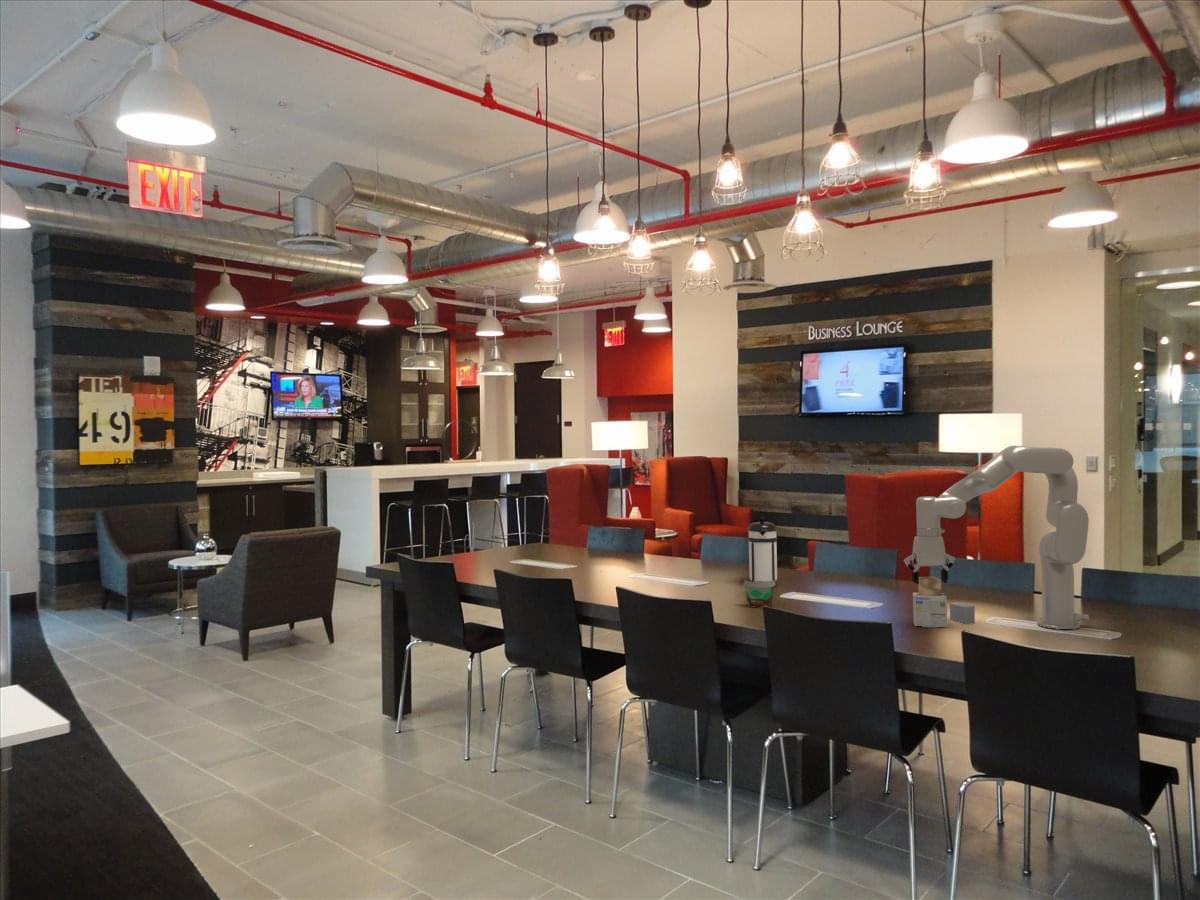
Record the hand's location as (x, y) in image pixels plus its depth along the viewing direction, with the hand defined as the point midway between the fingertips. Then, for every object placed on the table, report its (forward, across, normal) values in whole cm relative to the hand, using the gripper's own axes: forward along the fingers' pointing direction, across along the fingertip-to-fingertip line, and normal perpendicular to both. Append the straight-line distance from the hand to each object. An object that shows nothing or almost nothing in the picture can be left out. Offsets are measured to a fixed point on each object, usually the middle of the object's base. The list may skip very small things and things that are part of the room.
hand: (930, 582), depth 286 cm
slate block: (+15, -12, -4) cm, 20 cm away
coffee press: (+14, +40, -84) cm, 94 cm away
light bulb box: (+15, 0, 0) cm, 15 cm away
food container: (+14, +52, -37) cm, 65 cm away
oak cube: (+4, 0, 0) cm, 4 cm away
